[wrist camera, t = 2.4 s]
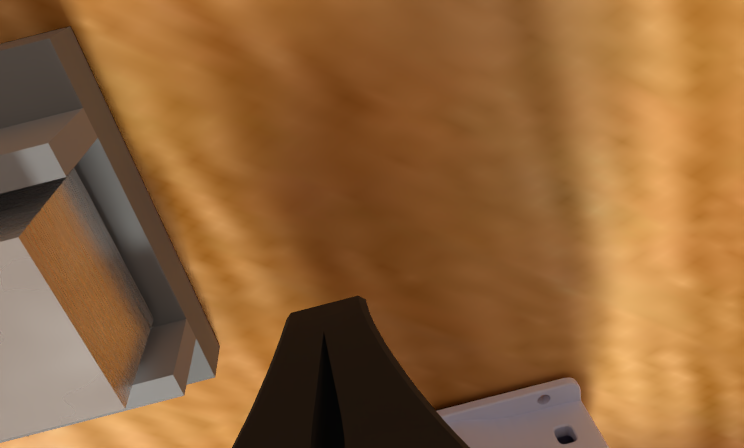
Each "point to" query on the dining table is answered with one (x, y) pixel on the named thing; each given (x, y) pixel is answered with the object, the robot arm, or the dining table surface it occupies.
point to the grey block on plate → (63, 311)
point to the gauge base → (101, 200)
